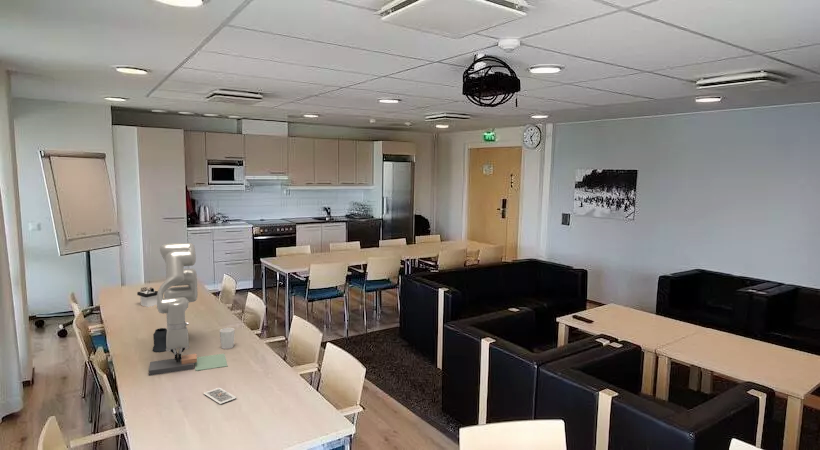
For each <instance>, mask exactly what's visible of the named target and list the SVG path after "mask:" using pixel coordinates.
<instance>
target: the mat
mask: <svg viewBox="0 0 820 450" xmlns="http://www.w3.org/2000/svg"><path fill="white" fill-rule="evenodd" d="M227 362H228V361H227V358H226V354H225V353H219V354H212V355H204V356H197V362H195V363H194V370H195V372H199V371H206V370H212V369H213V370H214V369H221V368H227V367H228V363H227Z"/></svg>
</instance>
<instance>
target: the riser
mask: <svg viewBox="0 0 820 450" xmlns="http://www.w3.org/2000/svg"><path fill="white" fill-rule="evenodd" d="M191 370H195V363H187V364H182V357H181V359H180V362H176V360H175V357H174V358H168V359H160V360H159V359H158V360H152V361H149V366H148V376H155V375H164V374H170V373H177V372H182V371H191Z"/></svg>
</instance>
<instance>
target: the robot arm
mask: <svg viewBox="0 0 820 450" xmlns="http://www.w3.org/2000/svg"><path fill="white" fill-rule="evenodd" d="M159 253H160V255H161V257H162V258H163V260H164V262H165V281H163V283H162V284H161V285H160V286H159V288H158V290H157V291H158V293H157V305H156V306H157V307H156V308H157V311H158V313H159V314H163V315H164V314H166V329H167V334H166V351H165V352H171V353H172V354H173V355H174V358H175V360H176V362H180V359H181V358H182V353H183V352H184V351H186V350H188V349H190V345H189V344H190V343H189V342H190V340H189V339H190V338H189V331H188V330H189V329H188V327H187V326H189V322H186V311H187V309H188V308H189V304H190V303H194V302H196V301H197V299H198V275H197V271H196V270H195V269H194V268H184V267H191V266H194V265H195V263H196V260H197V256H196V247H195V245H194V243H191V242H174V243H164V244H161V245H160V247H159ZM178 349H179V350H178ZM177 350H178V351H177Z"/></svg>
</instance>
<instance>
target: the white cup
mask: <svg viewBox="0 0 820 450" xmlns="http://www.w3.org/2000/svg"><path fill="white" fill-rule="evenodd" d="M219 339H220V341H219V342H220V348H221V349H223V350H229V349H232V348H233V347H234V345H235V328H234V327H224V328H221V329H219Z"/></svg>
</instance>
